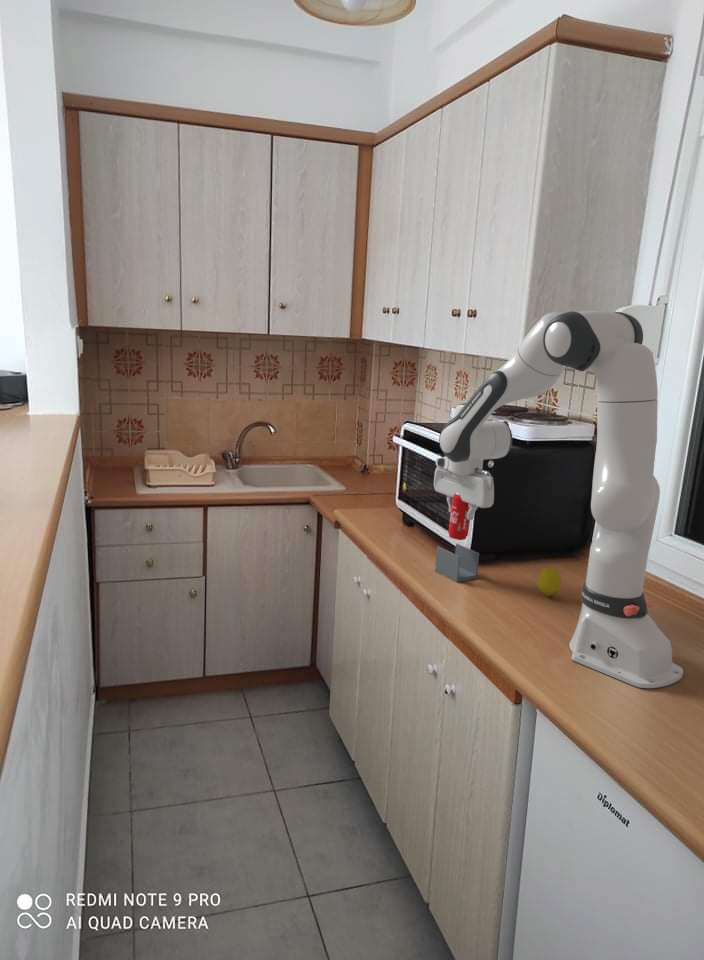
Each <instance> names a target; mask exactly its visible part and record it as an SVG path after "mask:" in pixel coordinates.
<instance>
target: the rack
mask: <svg viewBox="0 0 704 960" xmlns="http://www.w3.org/2000/svg"><path fill="white" fill-rule="evenodd" d="M479 558H480V552H477V551H475V550H473V549H471V548H468V547H466V546H464V545H461V544H459V543H456V544H455V550H454V553H453V552H451V551H449V550H447V549H444V548H443V547H441V546H436V555H435V569H434V572H436V573H438V574H439V575H442V576H444V577H446V578H448V579H450V580H452V581H454V582H455V583H458V582H464V581H470V580H475V578H476V579H478V569H479V560H480V559H479Z"/></svg>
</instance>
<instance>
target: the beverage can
mask: <svg viewBox="0 0 704 960" xmlns="http://www.w3.org/2000/svg"><path fill="white" fill-rule="evenodd" d="M468 504H469V503H467V502H464V501H462V499H461V497H460V495H459V494H456V493H455V494H454V495H453V501H452V508H451V513H450V516H449V524H448V530H447V531H448V535H449V536H448V537H449V538H451V539H453V540H456V541H457V540H459V541H462V540H463V541H464V540H466V539H467V537H468V535H469V530H470V523H471V520H468V519H465V512H468V510H469V508H470V507H468Z"/></svg>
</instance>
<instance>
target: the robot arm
mask: <svg viewBox="0 0 704 960" xmlns="http://www.w3.org/2000/svg"><path fill="white" fill-rule="evenodd" d="M643 341H644V331H643V327H642V325H641V323H640V322H639V320H638V319H637V318H636V317H634V316H633V315H630V314H628V313H626V312H621V311H614V312H613V311H601V310H597V309H596V310H594V309H593V310H591V309H590V310H581V311H568V312H558V311H554V312H548V313H547V314H545V315H543V316H542V317H540V319H539V320H538V321H537V322H536V323H535V324H534V326H533V327H532V328H531V329H530V331H528V333H527V334H526V336H525V337H524V339H522V342H521V343H520V344H519V346H518V348H517V349H516V350H515V352H514V353H513V354H512V356H511V357H510V358H509V359H508V360H507V361H506V362H505V363H504V364H503V365H502V366H501V367H500V368H498V369H497V370H496V371H495V372H492V374H490V375H489V376H488V377H487V378H486V379H484V380H483V382H482V383H481V384H480V386H479V387H478V388H477V389H476V390H475V392H474V393H473V394H472V395H471V397H470V398H469V400H467V402H465V403H459V404H458V405H456V407H455V410H454V413H453V415H452V418H451V419H450V420H449V421H447V423H445V425H444V426H443V428H442V429H441V432H440V434H439V438H438V443H439V445H438V446H439V448H440V450H441V452H442V453H443V455H444V456H441V457H436V458H435V466H436V468H435V470H434V477H433V488H434V490H435V492H436V493H438V494H442V495H445V496H446V502H447V505H448V513H450V514H451V508H452V501H453V495H454V494H455V493H456V494H459V495H460V497H461V499H462V501H464V502H467V503H469V504H468V507H470V508H469V510H468V512H465V519H468V520H470V521H472V520H473V519H474V517H475V512H476V511H477V510H478V508H480V509H487V508H491V507H492V506H493V505H494V501H495V486H494V484H495V483H494V477H493V476H492V474H491V472H490V471H488V470H484V469H483V467H484V466H483V465H484V460H495V459H496V460H497V459H500V458H504V457H506V456H507V455H508V453H510V451H511V449H512V446H513V445H512V444H513V433H512V429H511V428H510V427H509V425H508V424H507V423H506V422H504V421H501V420H499V419H498V418H496V417H495V416H494V415H493V414H492V413H493V412H495V411H496V410H497V409H498V408H501V407H503V406H505V405H507V404H510V403H513V402H517V401H521V400H525V399H530V398H535V397H538V396H541V395H544V394H545V393H546V392H547V391H549V389H550V388H552V387H553V385H555V383H556V382H557V381H558V380H559V378H560V377H561V375H562V373H563V372H564V370H565V369H566V368H571V369H573V370H577V371H579V372H585V371H586V370H587V369H590V370H591V371H592V373H594V375H595V377H596V382H597V383H596V384H597V393H596V398H597V401H596V405H597V406H596V409H597V411H596V412H597V413H596V420H597V421H596V427H597V428H596V429H597V430H596V448H595V449H596V450H595V455H594V464H593V473H592V474H593V475H592V487H591V499H590V500H591V501H590V510H591V515H592V517H593V519H594V520H595V522H596V524H595V528H594V529H595V530H594V534H593V536H592V537H593V538H592V542H591V544H590V547H589V556H588V562H587V569H586V570H587V571H586V578H585V582H584V583H583V584H582V591H581V599H580V600H581V603H582V604H581V609H580V613H579V618H578V621H577V625H576V628H575V631H574V633H573V635H572V638H571V640H570V642H569V644H568V645H569V649H570V651H571V653H572V654H571V660H572V661H574V662H576V663H578V664H581V665H583V666H586V667H587V668H591V670H592V669H593V670H595V671H598V672H600V673H601V674H605V675H607V676H610V677H612V678H614V679H616V680H619V681H622V682H623V683H627V684H629V685H631V686H634V687H637V688H640V689H657V688H663V687H666V686H669V685H672V684H675V683H676V682H679V681H680V680H681V679H682V678H683V676H684V669H683V668H682V667H681V666H679V665H678V664H676V663H674V661H673V647H672V643H671V642H670V640H669V638H667V636H666V635H665V633H663V631H662V630H661V629H660V628H659V627H658V625H657V623H656V622H655V621H654V620H653V619H652V618H651V617H650V615H649V614H648V613H649V611H648V609H650V608H652V607H654V605H653V604H654V601H649V602H648V601H647V602H646V596H645V594H644V591H643V590H644V584H645V583H644V582H645V576H646V570H647V563H648V558H649V553H650V549H651V548H650V547H651V542H652V538H653V533H654V528H655V523H656V518H657V513H658V508H659V503H660V497H661V496H660V495H661V489H660V488H661V487H660V485H659V484H660V483H659V482H658V479H657V478H656V477H655V475H654V474H655V473H654V471H655V460H656V459H655V458H656V451H657V442H658V405H659V403H658V398H659V397H658V394H659V393H658V378H657V369H656V363H655V359H654V354H653V353H652V351H651V349H650V348H649V347H648V346H646V345H643Z"/></svg>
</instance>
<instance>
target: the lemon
mask: <svg viewBox="0 0 704 960" xmlns="http://www.w3.org/2000/svg"><path fill="white" fill-rule="evenodd" d="M561 579H562V578H561V574H560V572H559V570H557V568H555V567H553V566H552V565H550V566H548V567H547V566H546V567H545V568H543V569H542V570H541V571H540V572H539V575H538V578H537V586H538V589H539V591H540V592H541V593H543V594H544V595H545V596H546V597H550V596H552V595H555V594H557V593H558V592H559V590H560V588H561V582H562V580H561Z"/></svg>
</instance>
